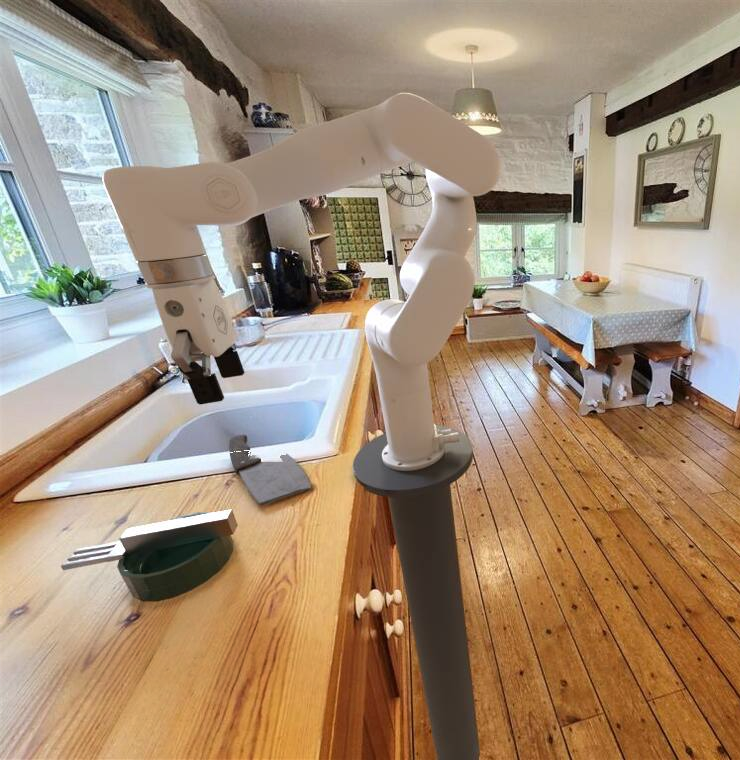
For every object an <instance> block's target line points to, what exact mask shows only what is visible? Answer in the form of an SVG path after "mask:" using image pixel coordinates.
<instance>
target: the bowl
mask: <svg viewBox="0 0 740 760" xmlns="http://www.w3.org/2000/svg"><path fill="white" fill-rule="evenodd" d="M210 513H213V512H211V511H210V512H209V511H201V512H200V511H199V512H193V513H187V514H184V515H181V516H178V517H175V518H171V519H169V520H168V521H172V520H177V519H183V518H188V517H194V516H199V515H205V514H210ZM234 546H235V545H234V540H233V537H232V535H229V536H224V537H219V538H213V539H208V540H203V541H198V542H193V543H188V544H183V545H178V546H173V547H168V548H162V549H157V550H152V551H147V552H142V553H137V554H132V555H127V556H126V558H125V559H121V560H118V562H117V566H116V568H117V570H118V573H119V574H120V576H121V578H122V580H123V582H124V583H125V585H126V587H127V589H128V590H129V592H130V594H131V596H132V597H133V598H134V599H136V600H138V601H140V602H144V603H145V602H147V603H149V602H150V603H151V602H152V603H157V602H161V601H166V600H170V599H175V598H177V597H179V596H182V595H184V594H187V593H189V592H191V591H193V590H195V589H197V588H198V587H200V586H202V585H204V584H205V583H207V582H208V581H209V580H210V579H212V578H213V577H215V576H216V575H217V574H218V573H220V571H222V570H223V568H224V567H225V566H226V565H227V563H228V562H229V561H230V559H231V557H232V555H233V552H234V550H235V548H234Z"/></svg>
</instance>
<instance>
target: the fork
mask: <svg viewBox="0 0 740 760" xmlns="http://www.w3.org/2000/svg"><path fill="white" fill-rule="evenodd" d="M171 520H172V519H171ZM237 528H238V522H237V519H236V516H235V513H234V511H233V509H227V510H221V511H216V512H212V513H210V514H205V515H199V516H194V517H188V518H183V519H177V520H172V521H169V520H167V521H161V522H156V523H151V524H146V525H139V526H135V527H134V526H133V527H129V528H126V530H125V531H124V532H123V533H122V535H120V537H119V538H118V541H114V542H109V543H103V544H98V545H92V546H87V547H83V548H77V549H75V550H74V551H73V555H69V557H68V558H67V559H66V560H67V562H63V563H62V564H61V565H60V568H61V569H62V571H67V570H68V571H69V570H72V569H78V568H84V567H89V566H93V565H97V564H102V563H103V564H104V563H111V562H115V561H119V560H121V559H125V558H126V556H127V555H132V554H137V553H142V552H147V551H152V550H157V549H162V548H168V547H173V546H178V545H183V544H188V543H193V542H198V541H203V540H208V539H213V538H219V537H224V536H229V535H231V536H233V535H234V534H235V532H236V530H237Z"/></svg>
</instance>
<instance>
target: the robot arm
mask: <svg viewBox="0 0 740 760" xmlns="http://www.w3.org/2000/svg"><path fill="white" fill-rule="evenodd" d="M413 163H415V164H418V166H421V167H423V168H424V169H425V171H424V173H425V179H426V182H427V185H428V189H429V192H430V195H431V200H432V209H431V214H430V217H429V220H427V223H426V225H425V226H424V229H423V231H422V233H421V234H420V236H419V237H418V239H417V241H416V242H415V244H414V245H413V247H412V249H411V251H410V252H409V253H408V255H407V257H406V258H405V260H404V261H403V264H402V266H401V268H400V272H399V283H400V286H401V287H402V289H403V291H404V292H405V294H407V295H408V298H407V299H406V301H403V300H401V299H393V298H388V299H383V300H381V301H378V302H377V303H375V304H374V305H373V306H371V307H370V309H369V310H368V312H367V314H366V317H365V321H364V334H365V339H366V342H367V345H368V349H369V352H370V356H371V359H372V364H373V368H374V372H375V377H376V384H377V388H378V395H379V401H380V405H381V406H380V407H381V411H382V417H383V423H384V428H385V433H386V435H387V441H388V445H387V446H386V447H385V448H384V450H383V452H382V459H383V462H384V464H385V465H386V466H388V467H389V468H392V469H395V470H400V471H412V470H418V469H422V468H425V467H428V466H430V465H432V464H434V463H435V462H437V461H438V460H439V459H440V458H441V457H442V456H443V454H444V452H445V446H444V444H447V443H455V442H459V435H458V433H452V434H451V429H448V430H444V431H439V430H436V425H437V424H435V418H434V410H433V403H432V395H431V387H430V386H431V385H430V375H429V370H428V363H430V362H432V360H434V359H435V358H436V357H437V356H438V354H439V353H440V352H441V351H442V349H443V348H444V346H445V345H446V343H447V341H448V340H449V338H450V337H451V334H452V333H453V332H454V330H455V328H456V326H457V325H458V323H459V321H460V319H461V318H462V316H463V314H464V313H465V311H466V309H467V308H468V306H469V303H470V301H471V300H472V297H473V294H474V291H475V282H476V281H475V274H474V269H473V267H472V265H471V263H470V262H469V261H468V260H467V259H466V258H465V257H466V255H467V253H468V252H469V249H470V247H471V245H472V243H473V241H474V239H475V236H476V232H477V226H478V224H477V223H478V221H477V220H478V219H477V212H476V204H475V200H474V199H475V198H474V197H480V196H483V195H487V193H489V192H491V191H492V190H493V189H494V188H495V187H496V185H497V184H498V182H499V180H500V178H501V173H502V170H501V169H502V165H501V158H500V155H499V153H498V151H497V149H496V148H495V146H494V145H493V143H492V142H491V141H490V140H488V138H487V137H486V136H484V135H483V134H481V132H478V131H477V130H475V129H474V128H473V127H471V126H469V125H467V124H466V123H464V122H463V121H461V120H459V119H458V118H456V116H453V115H452V114H450V113H448V112H447V111H445V110H444V109H442V108H440V106H437V105H436V104H434V103H432V102H430V101H429V100H427V99H426V98H423V97H421V96H419V95H416V94H414V93H410V92H400V93H396V94H394V95H392V96H391V97H388V98H387V99H386V100H384V101H382V102H381V103H379V104H377V105H373V106H371V107H368V108H365V109H362V110H358V111H355V112H353V113H350V114H347V115H343V116H341V117H340V116H339V117H338V118H334V119H330V120H327V121H324V122H320V123H317V124H312V125H310V126H307V127H304V128H303V129H300V130H298V131H296V132H294V133H292V134H291V135H289V136H288V137H286V138H285V139H283V140H281V141H280V142H279V143H276V144H274V145H272V146H271V147H269V148H266V149H264V150H262V151H259V152H256V153H254V154H252V155H248V156H246V157H242V158H239V159H236V160H234V161H230V162H227V163H222V162H215V161H213V162H211V161H210V162H200V163H195V164H194V163H193V164H189V165H182V166H173V167H162V166H151V165H150V166H149V165H140V166H139V165H134V166H133V165H132V166H131V165H130V166H118V167H112V168H109V169H106V170H105V171H104V173H103V174H102V183H103V186H104V189H105V192H106V194H107V197H108V198H109V201H110V203H111V206H112V209H113V210H114V213H115V215H116V217H117V220H118V222H119V225H120V227H121V229H122V231H123V234H124V236H125V238H126V240H127V243H128V245H129V248H130V250H131V253H132V255H133V257H134V260H135V261H136V265H137V267H138V269H139V271H140V274H141V277H142V278H143V281H144V283H145V286H146V288H147V289H151V290H152V294H153V298H154V302H155V304H156V308H157V311H158V315H159V318H160V320H161V323H162V327H163V329H164V332H165V334H166V337H167V339H168V342H169V344H170V347H171V348H172V349H171V352H170V357H171V360H172V361H173V362H174V363H175V364H176V366H177V369H178V370H179V372H180V373H181V374H182V375H183V378H184V379H185V380H187V383H188V385H189V388H190V390H191V393H192V395H193V397H194V399H195V402H196V403H197V405H199V406H200V405H207V404H212V403H219V402H222V401H223V400H225V395H224V393H223V390H222V387H221V385H220V382H219V379H218V378H217V375H216V373H215V372H213V373H212V365H211V364H212V363H211V361H212V360H211V356H212V357H213V359H214V362H215V364H216V366H217V368H218V372H219V374H220V377H221V378H223V379H227V378H235V377H242V376H243V375H245V373H246V372H245V370H244V367H243V364H242V360H241V359H240V358H241V357H240V355H239V353H238V350H237V344H236V343H235V342H236V341H237V340H238V332H237V329H236V326H235V323H234V322H233V319H232V317H231V314H230V312H229V310H228V307H227V303H226V302H225V299H224V298H223V296H222V293H221V291H220V289H219V287H218V285H217V283H216V281H215V279H216V276H215V274H214V270H213V268H212V264H211V262H210V258H209V256H208V254H207V250H206V247H205V245H204V242H203V239H202V235H201V233H200V231H199V228H198V226H216V227H236V226H240V225H243V224H245V223H246V222H248V221H250V219H251V218H255V217H258V216H259V215H262V214H265V213H267V212H269V211H272V210H275V209H278V208H281V207H283V206H286V205H289V204H293V203H296V202H299V201H302V200H306V199H310V198H317V197H322V196H326V195H329V194H331V193H335V192H338V191H340V190H343V189H345V188H346V189H347V188H348V187H351V186H353V185H356V184H358V183H360V182H363V181H366V180H368V179H371V178H374V177H376V176H379V175H382V174H385V173H387V172H389V171H393V170H395V169H397V168H400V167H403V166H405V165H408V164H413ZM198 362H201V365H200V363H198Z"/></svg>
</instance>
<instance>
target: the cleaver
mask: <svg viewBox="0 0 740 760" xmlns="http://www.w3.org/2000/svg"><path fill="white" fill-rule="evenodd" d="M247 442H248V436H247V435H246V434H240V435H235V436H232V437H231V438H230V439H229V443H228V451H229V457H230V462H231V466H232V468H233V470H234V472H235V474H236V475H237V476H240V479H241V480H242V482H243V485H244V486H245V489H246V490H247V492H248V494H249V495H250V496H251V498H252V499H253V501H254V502H256V503H257V504H258V506H259V507H263V506H266V505H269V504H272V503H275V502H278V501H281V500H284V499H287V498H290V497H293V496H296V495H299V494H301V493H304V492H305V491H308V490H309V489H311V488H312V484H311V482H310V480H309V477H308V476H307V474H306V473H305V471H304V470H303V468H302V467H301V465H300V464H299V463H298V462H297V460H295V459H294V458H293V457H292V456H291V455H289V454H288V453H287V454H286V455H281V456H280V458H281V459H282V461H283V462H261V458H260V457H251V454H252V451H251V452H250V455H249V457H248V454H249V453H248V452H249V451H244V450H251V447H250V446H249V445H248V444H247ZM234 451H235V452H234ZM236 451H241V452H236ZM230 452H233V453H230Z"/></svg>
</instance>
